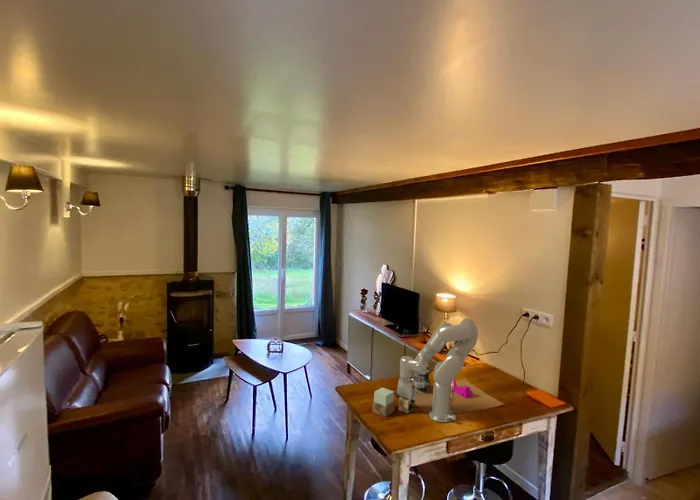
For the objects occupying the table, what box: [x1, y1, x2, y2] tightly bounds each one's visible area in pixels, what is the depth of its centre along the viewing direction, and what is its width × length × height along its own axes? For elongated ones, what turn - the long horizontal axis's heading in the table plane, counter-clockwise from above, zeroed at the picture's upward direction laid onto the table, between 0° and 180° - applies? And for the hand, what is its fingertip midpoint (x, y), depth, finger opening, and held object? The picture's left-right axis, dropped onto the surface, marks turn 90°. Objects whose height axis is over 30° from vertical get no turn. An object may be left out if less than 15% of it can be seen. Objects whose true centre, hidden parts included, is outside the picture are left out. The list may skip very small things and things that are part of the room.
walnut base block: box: [371, 400, 395, 418], centre depth 215 cm, size 9×9×6 cm
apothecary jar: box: [413, 363, 432, 394], centre depth 244 cm, size 12×12×18 cm
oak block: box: [397, 397, 414, 414], centre depth 217 cm, size 6×6×7 cm
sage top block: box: [373, 387, 395, 406], centre depth 215 cm, size 8×8×6 cm
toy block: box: [453, 378, 474, 399], centre depth 243 cm, size 15×6×8 cm, turn 29°
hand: (405, 408), depth 218 cm, fingers closed on oak block, 6 cm apart
